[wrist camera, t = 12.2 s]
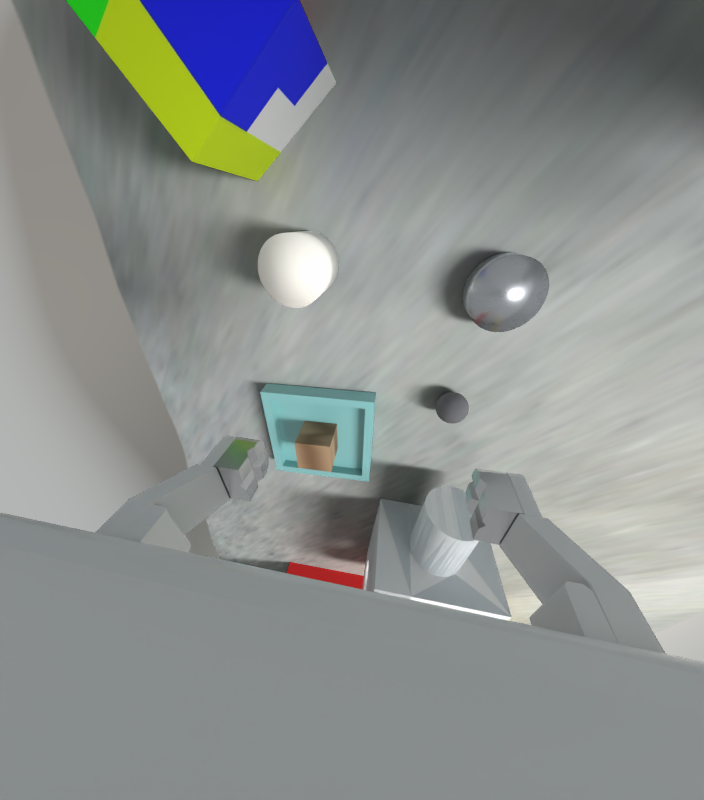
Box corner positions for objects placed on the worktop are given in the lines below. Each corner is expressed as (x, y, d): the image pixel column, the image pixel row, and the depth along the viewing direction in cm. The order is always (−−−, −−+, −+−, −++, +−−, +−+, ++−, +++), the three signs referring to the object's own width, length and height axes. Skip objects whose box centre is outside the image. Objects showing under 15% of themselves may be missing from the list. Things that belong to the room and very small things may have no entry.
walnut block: (337, 423, 40) (329, 447, 36) (337, 448, 43) (331, 471, 38) (304, 420, 40) (294, 443, 36) (307, 444, 43) (298, 467, 39)
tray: (375, 392, 37) (374, 402, 35) (370, 470, 46) (368, 481, 44) (267, 383, 39) (260, 391, 37) (282, 459, 48) (277, 469, 46)
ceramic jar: (338, 231, 27) (322, 233, 21) (339, 293, 30) (325, 309, 25) (282, 230, 28) (251, 232, 22) (289, 290, 31) (264, 306, 25)
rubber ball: (468, 387, 34) (475, 405, 31) (461, 412, 37) (467, 431, 33) (437, 385, 35) (441, 402, 32) (431, 409, 37) (434, 427, 34)
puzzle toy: (336, 83, 21) (297, -4, 13) (257, 181, 26) (191, 161, 17) (244, -91, 18) (109, -364, 9) (170, 58, 22) (33, -41, 14)
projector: (444, 575, 62) (455, 663, 50) (365, 559, 64) (357, 641, 51) (506, 479, 43) (550, 585, 30) (389, 459, 44) (386, 553, 31)
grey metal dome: (547, 253, 26) (563, 257, 23) (519, 325, 29) (530, 334, 27) (472, 250, 26) (480, 253, 24) (455, 320, 30) (460, 329, 28)
